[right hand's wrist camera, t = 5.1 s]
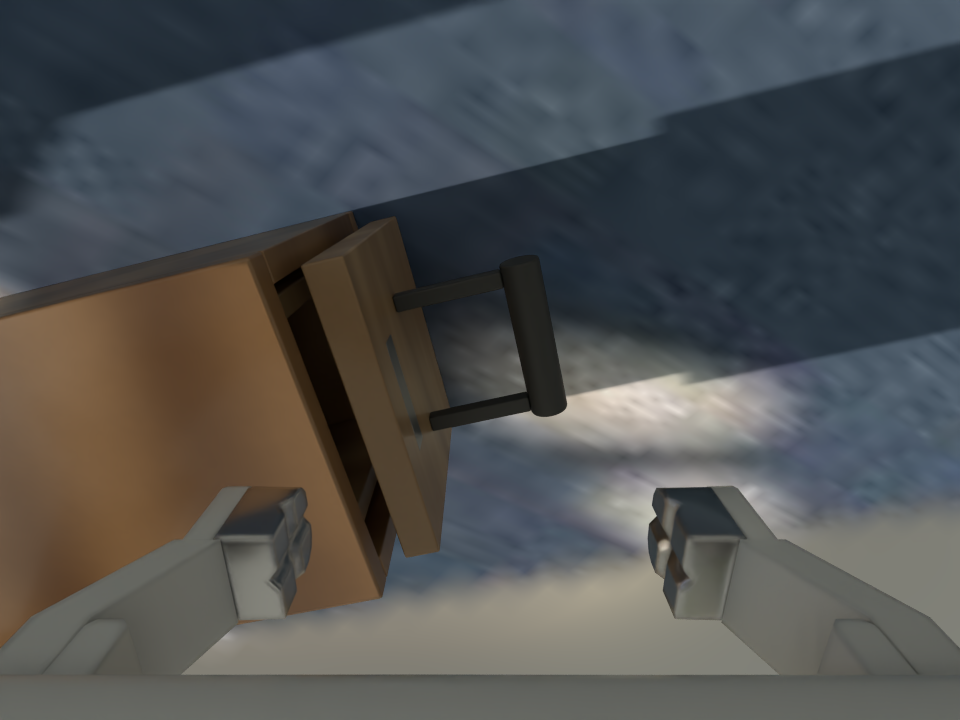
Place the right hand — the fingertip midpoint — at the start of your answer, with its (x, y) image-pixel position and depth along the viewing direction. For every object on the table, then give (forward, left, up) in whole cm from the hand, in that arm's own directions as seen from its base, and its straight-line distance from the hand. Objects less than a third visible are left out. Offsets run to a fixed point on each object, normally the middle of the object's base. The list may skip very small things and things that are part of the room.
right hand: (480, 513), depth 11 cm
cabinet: (+14, 0, -15) cm, 21 cm away
